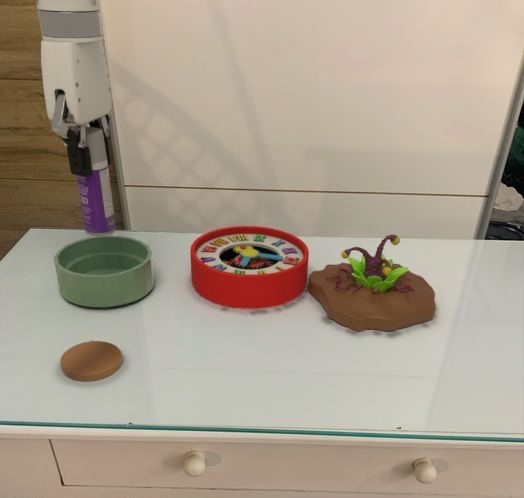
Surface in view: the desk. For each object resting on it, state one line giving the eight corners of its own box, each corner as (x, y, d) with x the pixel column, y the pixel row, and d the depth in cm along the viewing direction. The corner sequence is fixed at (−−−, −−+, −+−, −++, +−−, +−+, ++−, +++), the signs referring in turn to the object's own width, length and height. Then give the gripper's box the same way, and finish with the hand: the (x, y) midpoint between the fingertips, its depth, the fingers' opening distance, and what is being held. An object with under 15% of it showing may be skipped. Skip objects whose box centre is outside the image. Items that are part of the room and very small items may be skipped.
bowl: (42, 301, 88) (34, 267, 85) (89, 261, 100) (84, 230, 97) (129, 317, 85) (125, 282, 82) (168, 274, 98) (165, 242, 94)
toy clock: (211, 220, 103) (317, 233, 100) (211, 249, 107) (314, 263, 103) (172, 266, 87) (297, 284, 84) (174, 299, 91) (294, 317, 87)
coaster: (49, 375, 73) (47, 369, 73) (80, 342, 79) (79, 336, 79) (104, 386, 72) (103, 380, 71) (132, 352, 78) (131, 346, 77)
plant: (456, 323, 87) (474, 258, 81) (341, 338, 83) (351, 271, 76) (397, 267, 103) (408, 208, 97) (298, 277, 98) (302, 217, 92)
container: (79, 234, 86) (62, 133, 77) (94, 223, 89) (79, 125, 81) (107, 238, 85) (93, 136, 76) (121, 226, 89) (109, 128, 80)
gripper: (79, 20, 79) (96, 151, 89) (4, 30, 65) (35, 184, 76) (127, 23, 77) (140, 156, 88) (61, 34, 64) (85, 190, 74)
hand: (91, 167), depth 82 cm, fingers closed on container, 4 cm apart
